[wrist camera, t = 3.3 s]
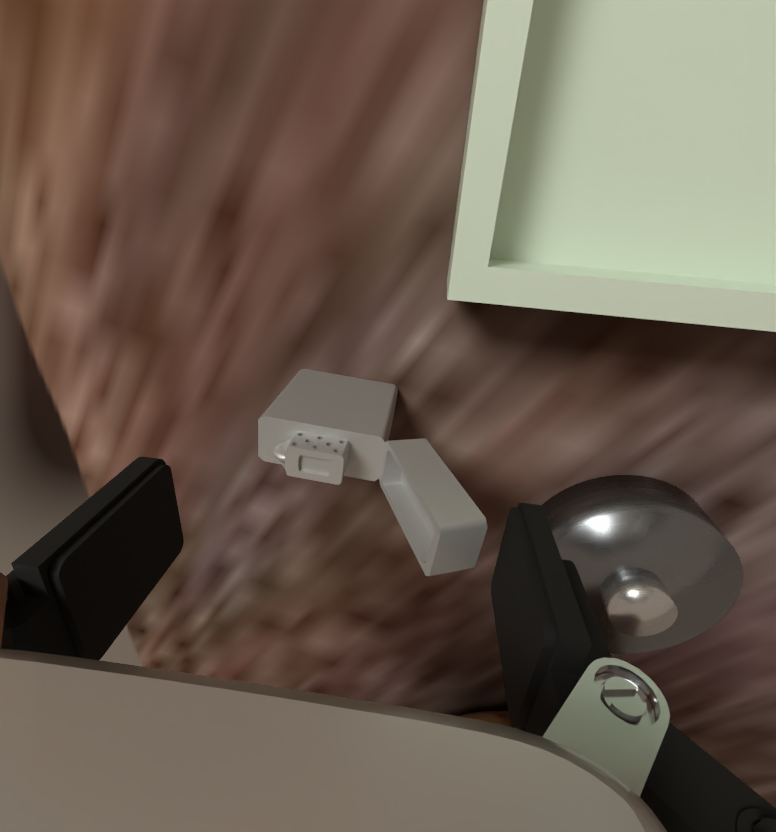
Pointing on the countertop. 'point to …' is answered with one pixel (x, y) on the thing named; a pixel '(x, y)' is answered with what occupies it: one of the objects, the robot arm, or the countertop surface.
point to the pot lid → (645, 560)
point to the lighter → (373, 462)
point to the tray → (622, 161)
